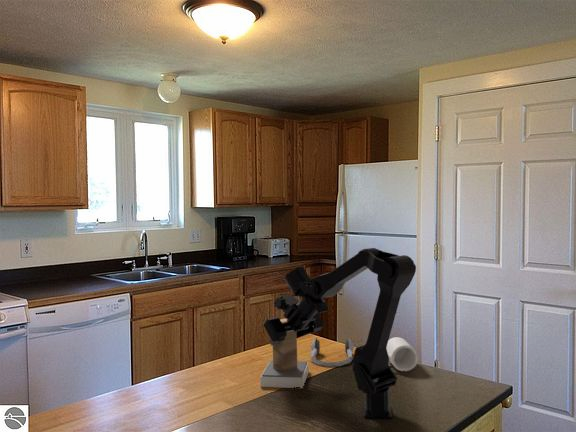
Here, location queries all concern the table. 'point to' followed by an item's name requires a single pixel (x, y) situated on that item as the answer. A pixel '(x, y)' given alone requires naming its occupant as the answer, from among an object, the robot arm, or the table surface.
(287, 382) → the dock
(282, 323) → the cargo
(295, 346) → the tan tall cylinder
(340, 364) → the headphones
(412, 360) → the mug
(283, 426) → the table surface
